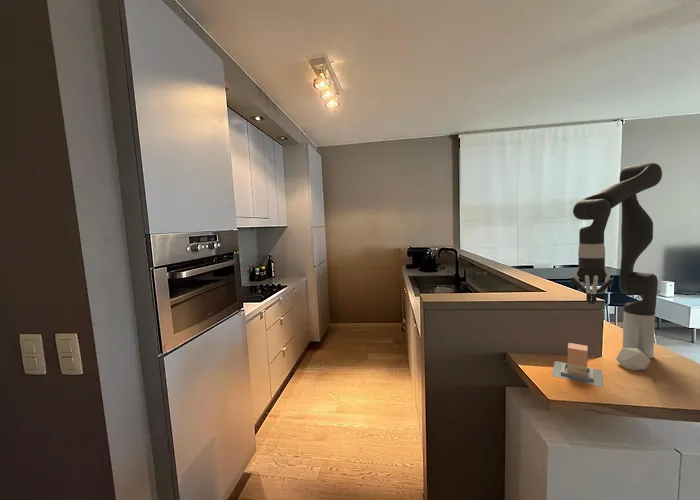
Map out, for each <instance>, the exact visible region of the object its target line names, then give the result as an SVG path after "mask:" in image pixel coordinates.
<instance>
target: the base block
mask: <svg viewBox="0 0 700 500" xmlns="http://www.w3.org/2000/svg"><path fill="white" fill-rule="evenodd" d="M566 363H567V372H569V373H574V374H579V375H583V376H587V367H588V366H587V367H585V366H580V365H575V364H570V363H568V361H567V362H566Z"/></svg>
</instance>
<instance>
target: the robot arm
mask: <svg viewBox="0 0 700 500" xmlns="http://www.w3.org/2000/svg"><path fill="white" fill-rule="evenodd" d="M619 174H620V175H619V182H616V183H614V184H612V185H609V186H607V187H606V188H604V189H602V190H601V191H599V192H598V193H596V194H592V195H590V196H587V197H585V198H582V199H580V200H579V201H578V202H576V203H575V205H574V206H573V210H572V214H573V216H574V218H576V219H578V220H582V221H591V220H593V221H592V223H591V224H590V225H589V226H583V227H581V228H579V231H578V234H579V235H578V236H579V237H578V241H579V242H578V243H579V244H578V250H577V251H578V253H577V256H578V266H577V267H578V270H577V272H576V274H575V275H572V276H570V277H569V278H570V282H572V283H573V285H575V286H576V287H577V289H578V290H579V291H580V292H583V293H585V294H586V302H587V303H588V305H589V304H590V305H595V303H597V296H598V295H597V294H599V293H601V294H602V293H604V292H605V290H606V289H608V288H609V287H610V286H611V285H612V284H613V283H614V282H615V279H614V278H611V277H610V276H608V274H607V272H606V247H605V230H606V228H607V225H608V221H609V218H610V216H611V213H612V209H613V208H615V207H616V206H618V205H619V204H621V227H620V230H621V231H620V232H621V233H620V235H621V238H620V242H621V259H620V268H619V269H620V270H619V279H618V287H619V290H620V292H621V293H622V294H625V295H631V296H636V297H639V296H640V297H642V298H641V300H639V301H633V302H626V303H625V304H624V305H623V318H622V319H623V320H622V321H623V323H622V347H621V349H622V348H638V349H639V350H640V351H642V352H643V353H644V354H645V355H646V356H647V357H648V358H649V359H650V360H651V359H654V348H655V328H656V327H655V326H656V325H655V324H656V308H657V307H656V306H657V296H658V288H659V280H658V276H656V274H654V273H650V272H639V271H638V272H636V271H634V267H635V263H636V261H637V260H638V258H639V257H640V255H641V254H643V253H644V251H646V249H647V248H648V247H649V246H650V245H651V243H652V241H653V239H654V222H653V219H652V218H651V217H650V215H649V214H648V213H647V212H646V210H645V209H644V208H643V207H642V205H641V204H640V202H639V200H638V197H637V194H639V193H640V192H641V193H642V192H644V191H646V190H648V189H651V188H653V187H655V186H657V185H658V184H660V182H661V180H662V178H663V170H662V166H660V165H659V164H658V163H655V162H646V163H641V164H640V163H639V164H634V165H629V166H628V165H627V166H625V167H623V168H622V169H621V171H620V173H619ZM579 280H581V281H582V283H583V284H585V287H584V286H583V285H582V284H581V282H580V281H579ZM603 280H604V283H603V284H602V285H601V286H600V287H598V285H599V284H600V283H601V282H603ZM591 285H592V290H591Z"/></svg>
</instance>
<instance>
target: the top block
mask: <svg viewBox="0 0 700 500" xmlns="http://www.w3.org/2000/svg"><path fill="white" fill-rule="evenodd" d="M567 343H568V344H567V362H568V363H570V364H575V365H580V366H585V367H588V350H589V348H588V345H584V344H578V343H571V342H567Z"/></svg>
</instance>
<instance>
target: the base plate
mask: <svg viewBox="0 0 700 500" xmlns="http://www.w3.org/2000/svg"><path fill="white" fill-rule="evenodd" d="M551 377H556V378H560V379H565V380H569V381H575V382H578V383H583V384H587V385H591V386H597V387H600V388H601V387H602V388H604V379H603V378H604V377H603V370H602V369H597V368H592V367H588V366H587V376H583V375H579V374H574V373H569V372H567V362H562V361H557V360H556V361H554V364H553V369H552V373H551Z"/></svg>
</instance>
